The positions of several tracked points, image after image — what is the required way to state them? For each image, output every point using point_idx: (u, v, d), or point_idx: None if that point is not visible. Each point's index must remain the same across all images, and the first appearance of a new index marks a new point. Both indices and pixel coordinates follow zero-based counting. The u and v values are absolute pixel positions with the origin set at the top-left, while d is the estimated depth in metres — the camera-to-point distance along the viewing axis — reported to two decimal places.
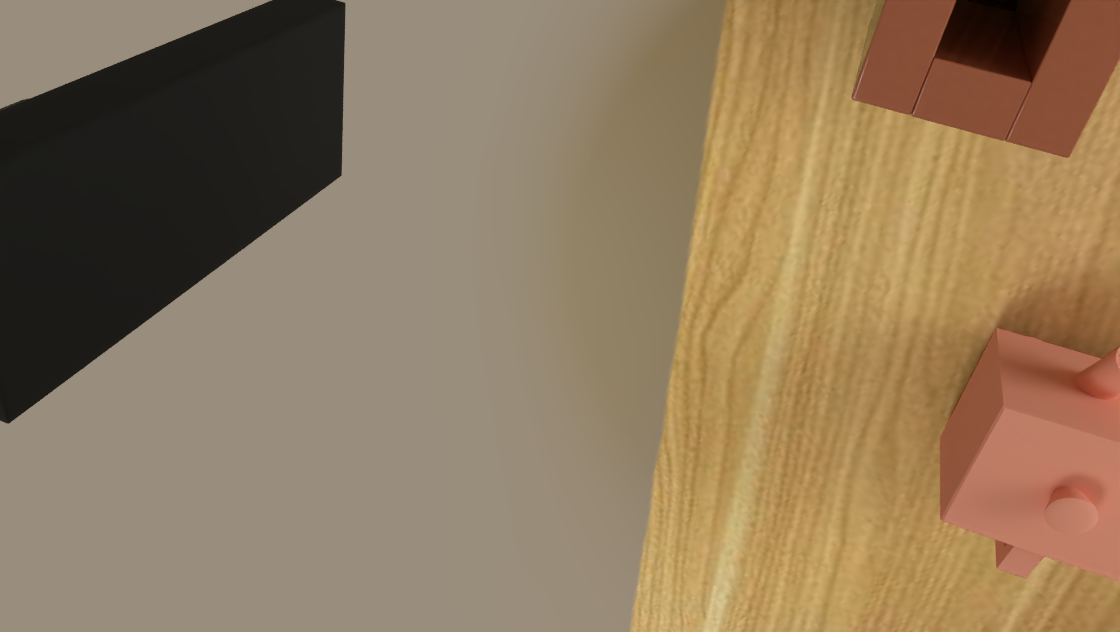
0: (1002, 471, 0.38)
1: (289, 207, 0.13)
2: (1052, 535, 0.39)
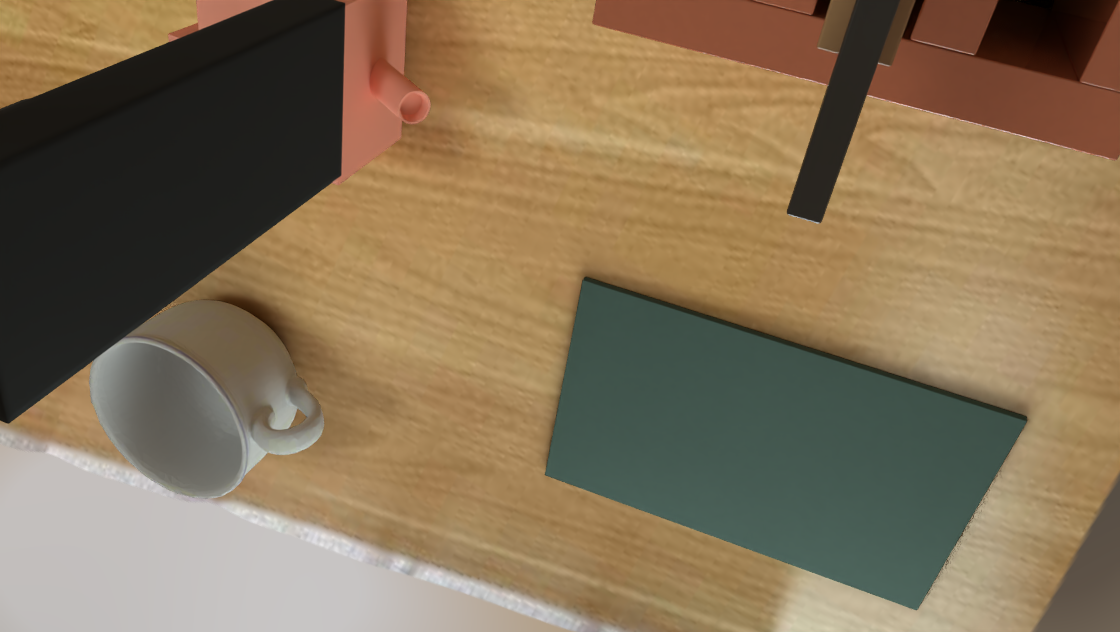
0: None
1: (289, 207, 0.13)
2: None
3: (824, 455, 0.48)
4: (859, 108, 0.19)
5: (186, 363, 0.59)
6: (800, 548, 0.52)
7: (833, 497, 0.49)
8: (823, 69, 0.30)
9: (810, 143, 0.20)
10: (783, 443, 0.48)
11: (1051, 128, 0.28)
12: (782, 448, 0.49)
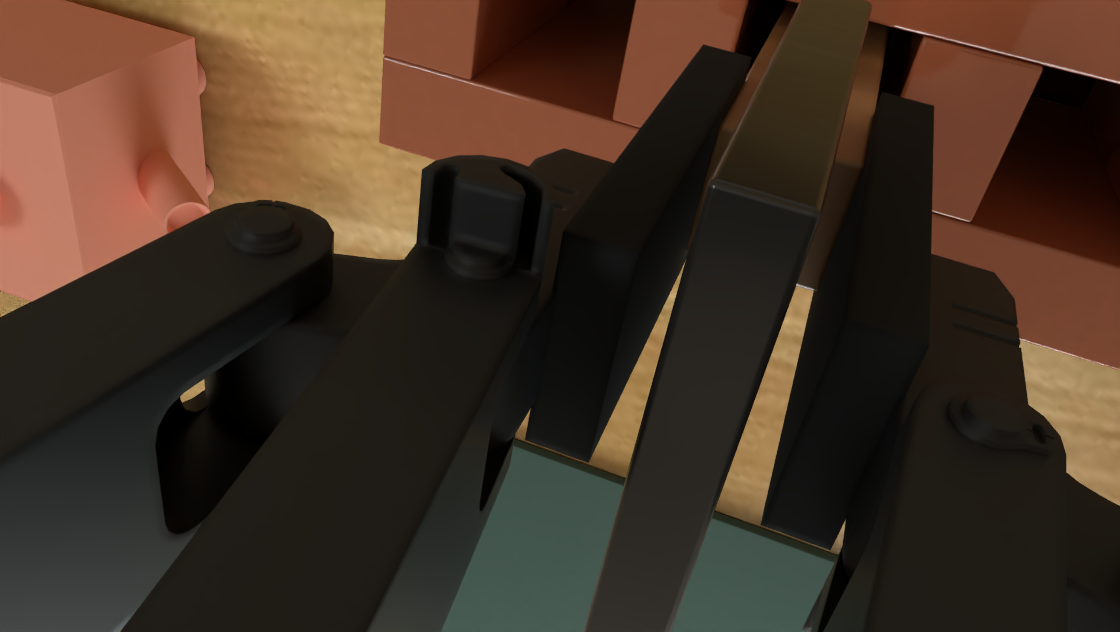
0: None
1: None
2: None
3: None
4: (699, 535, 0.08)
5: None
6: None
7: None
8: None
9: (601, 579, 0.09)
10: None
11: (1094, 339, 0.17)
12: None
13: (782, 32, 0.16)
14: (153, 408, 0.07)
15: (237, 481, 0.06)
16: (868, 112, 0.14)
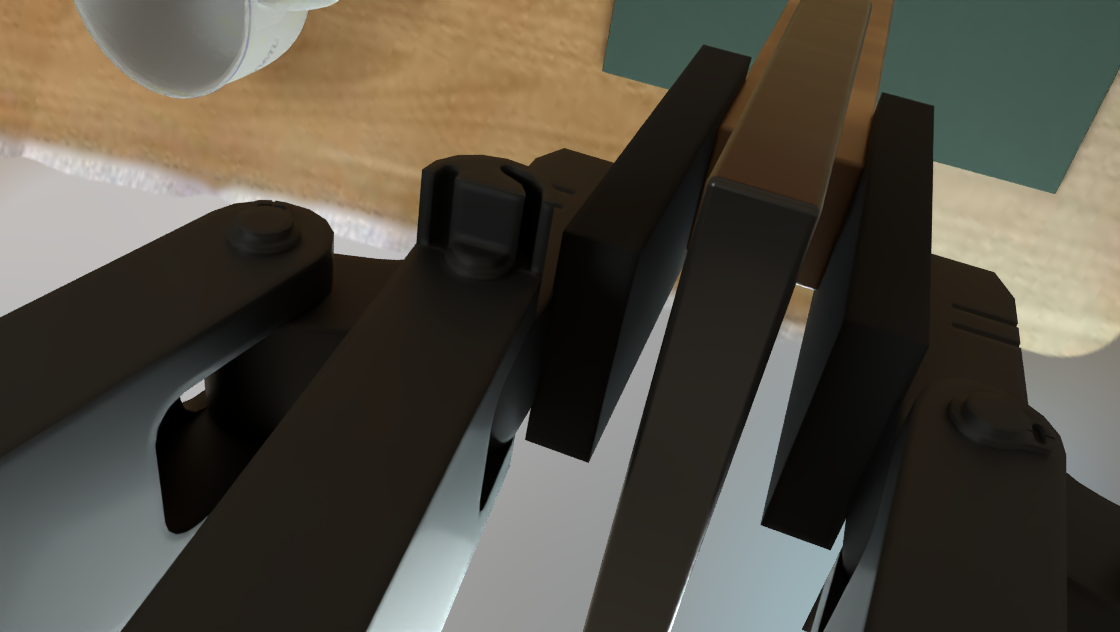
0: None
1: None
2: None
3: None
4: (699, 535, 0.08)
5: None
6: None
7: (960, 36, 0.40)
8: None
9: (600, 578, 0.09)
10: None
11: None
12: None
13: (783, 31, 0.16)
14: (152, 406, 0.07)
15: (236, 481, 0.06)
16: (868, 111, 0.14)
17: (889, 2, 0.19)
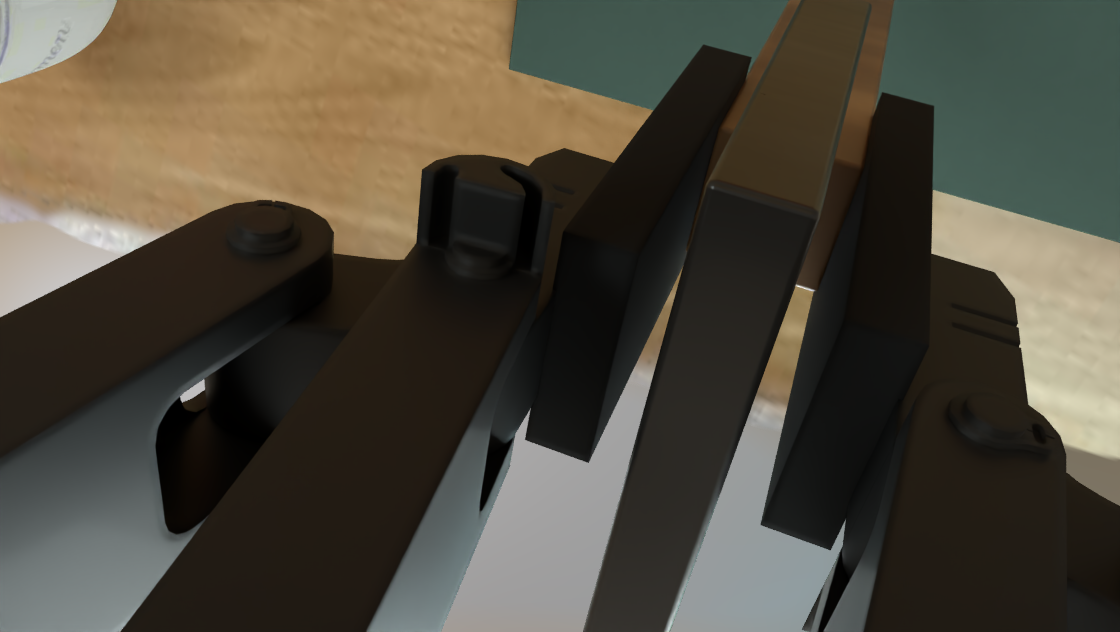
0: None
1: None
2: None
3: None
4: (698, 537, 0.08)
5: None
6: None
7: (1003, 22, 0.28)
8: None
9: (599, 580, 0.09)
10: None
11: None
12: None
13: (783, 32, 0.16)
14: (152, 408, 0.07)
15: (236, 482, 0.06)
16: (868, 112, 0.14)
17: (889, 3, 0.19)
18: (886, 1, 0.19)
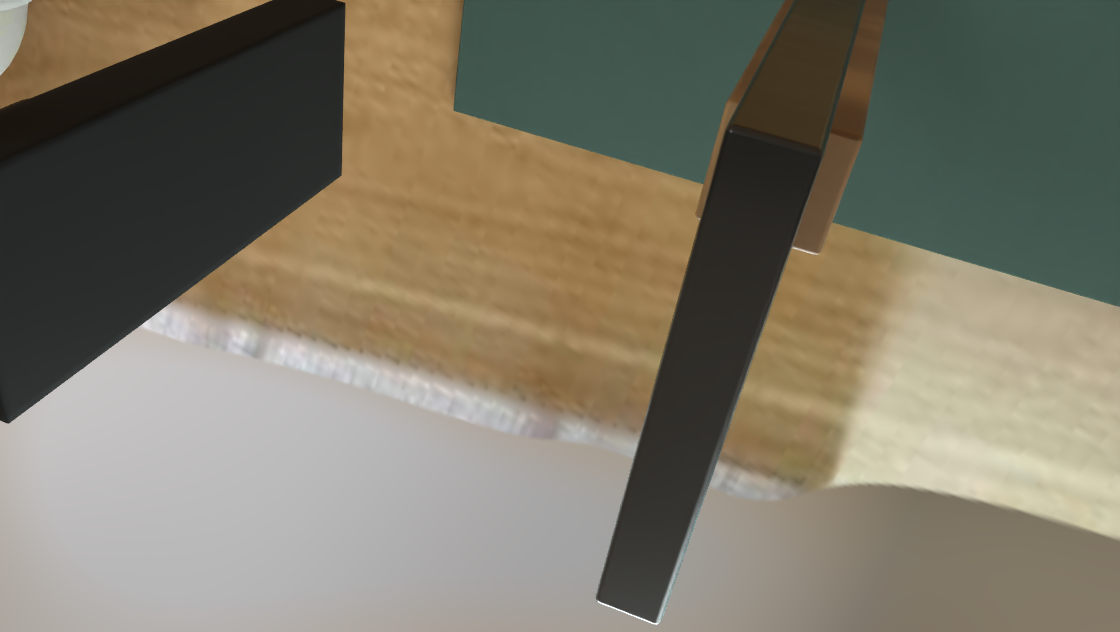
0: None
1: (289, 207, 0.13)
2: None
3: None
4: (715, 451, 0.09)
5: None
6: (922, 202, 0.27)
7: (1002, 66, 0.25)
8: None
9: (625, 496, 0.10)
10: None
11: None
12: None
13: None
14: None
15: None
16: (866, 90, 0.15)
17: None
18: None
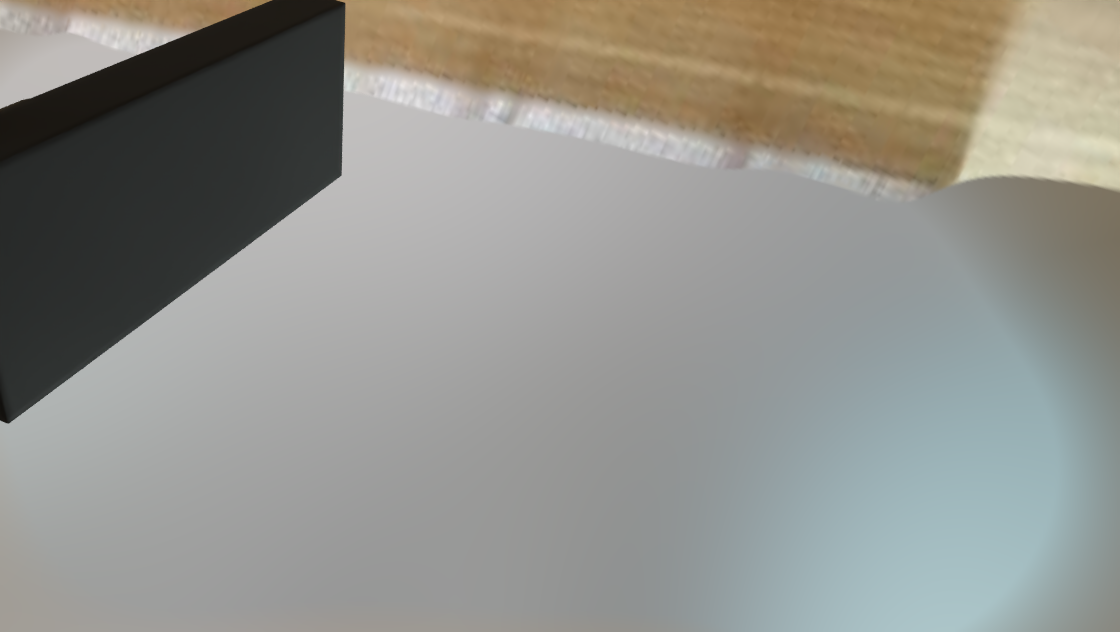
0: None
1: (289, 207, 0.13)
2: None
3: None
4: None
5: None
6: None
7: None
8: None
9: None
10: None
11: None
12: None
13: None
14: None
15: None
16: None
17: None
18: None
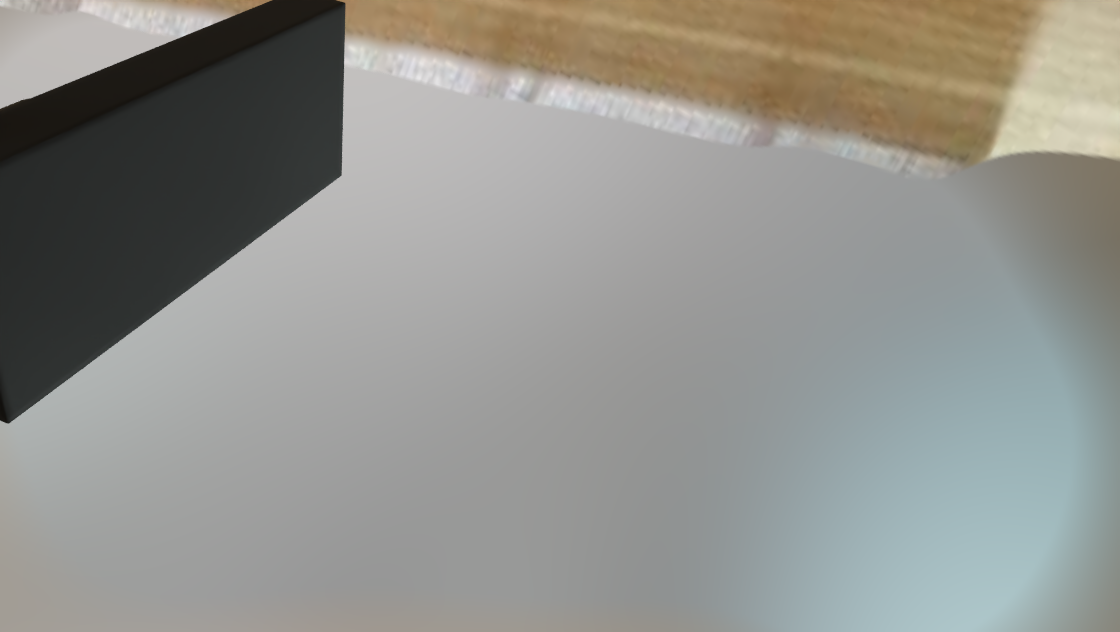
0: None
1: (289, 207, 0.13)
2: None
3: None
4: None
5: None
6: None
7: None
8: None
9: None
10: None
11: None
12: None
13: None
14: None
15: None
16: None
17: None
18: None
